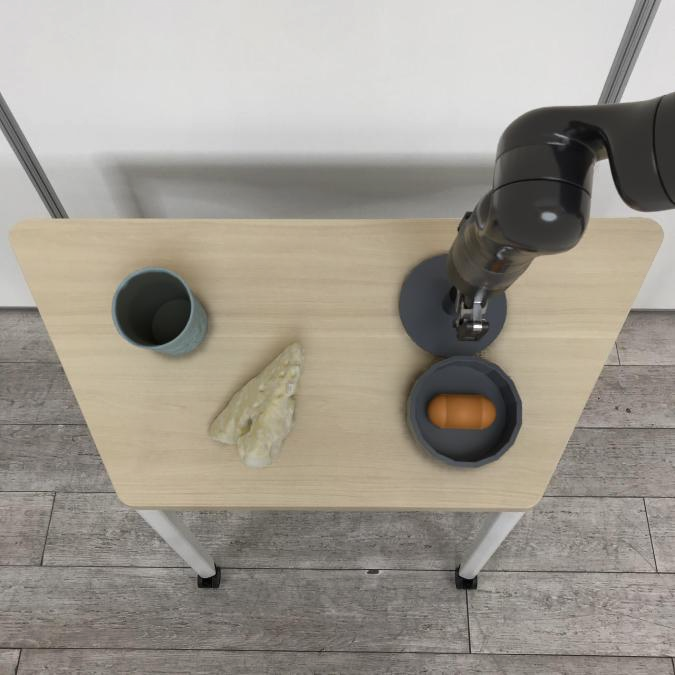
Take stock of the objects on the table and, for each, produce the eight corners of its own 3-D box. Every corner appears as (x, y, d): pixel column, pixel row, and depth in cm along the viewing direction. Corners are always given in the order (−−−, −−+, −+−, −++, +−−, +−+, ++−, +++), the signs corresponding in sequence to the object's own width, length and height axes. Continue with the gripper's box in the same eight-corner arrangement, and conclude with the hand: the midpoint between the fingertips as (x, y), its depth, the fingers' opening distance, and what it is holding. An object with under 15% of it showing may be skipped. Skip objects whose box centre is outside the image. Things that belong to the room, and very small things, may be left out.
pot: (509, 363, 84) (521, 357, 78) (510, 468, 81) (522, 469, 75) (407, 359, 84) (411, 353, 78) (405, 463, 82) (409, 464, 76)
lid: (505, 257, 86) (518, 241, 79) (505, 361, 84) (519, 353, 77) (400, 254, 87) (404, 237, 80) (397, 357, 84) (401, 349, 77)
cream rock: (240, 482, 84) (321, 472, 75) (198, 467, 79) (278, 454, 70) (259, 380, 91) (335, 359, 82) (221, 361, 86) (297, 336, 77)
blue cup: (163, 280, 87) (134, 254, 75) (227, 307, 86) (207, 286, 74) (131, 344, 86) (96, 328, 74) (196, 373, 85) (170, 361, 73)
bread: (492, 397, 83) (499, 394, 78) (492, 430, 82) (500, 429, 77) (425, 395, 83) (429, 392, 78) (424, 428, 82) (428, 427, 78)
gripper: (528, 323, 60) (490, 349, 76) (527, 187, 62) (490, 239, 78) (452, 320, 60) (430, 346, 76) (453, 184, 63) (431, 237, 79)
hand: (460, 292), depth 77 cm, fingers open, 8 cm apart
